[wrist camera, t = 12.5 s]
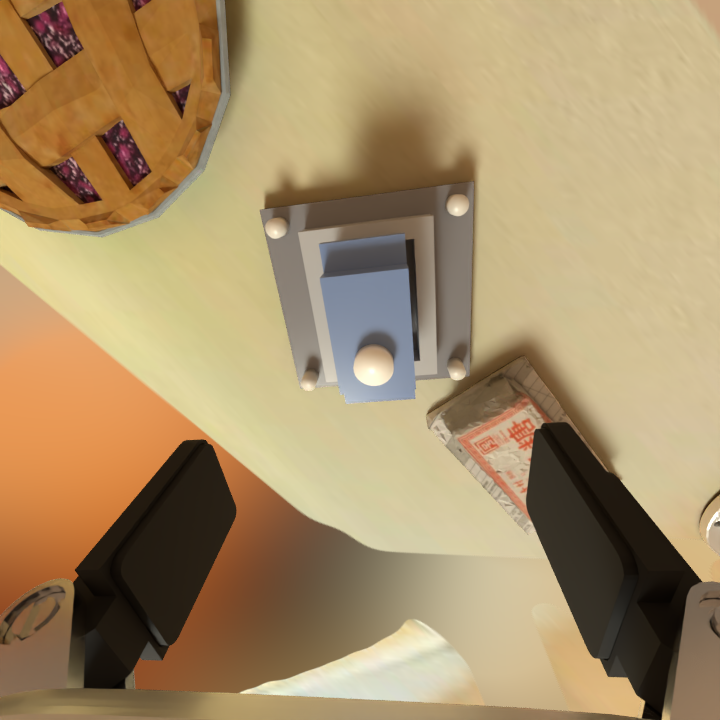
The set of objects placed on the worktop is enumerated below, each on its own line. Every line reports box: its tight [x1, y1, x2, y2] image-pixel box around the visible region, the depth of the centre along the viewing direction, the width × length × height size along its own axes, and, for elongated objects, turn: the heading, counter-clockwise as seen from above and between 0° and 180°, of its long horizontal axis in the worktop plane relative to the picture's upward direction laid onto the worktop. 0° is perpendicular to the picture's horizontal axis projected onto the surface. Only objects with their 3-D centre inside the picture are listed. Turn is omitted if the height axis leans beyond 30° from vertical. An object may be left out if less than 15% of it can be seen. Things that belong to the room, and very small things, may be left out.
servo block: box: [319, 232, 416, 404], centre depth 21 cm, size 4×10×8 cm, turn 7°
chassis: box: [260, 181, 474, 391], centre depth 25 cm, size 14×14×3 cm
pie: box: [0, 0, 230, 237], centre depth 18 cm, size 22×22×5 cm
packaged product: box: [426, 356, 609, 535], centre depth 30 cm, size 18×5×10 cm
